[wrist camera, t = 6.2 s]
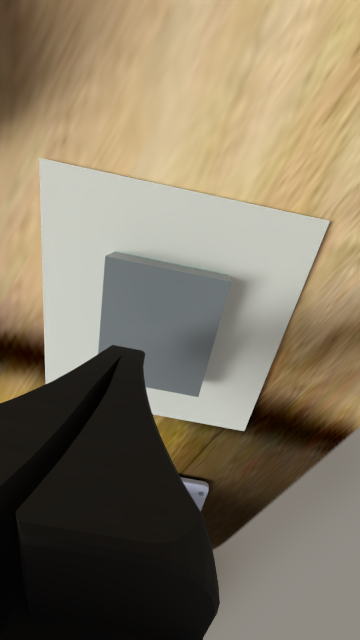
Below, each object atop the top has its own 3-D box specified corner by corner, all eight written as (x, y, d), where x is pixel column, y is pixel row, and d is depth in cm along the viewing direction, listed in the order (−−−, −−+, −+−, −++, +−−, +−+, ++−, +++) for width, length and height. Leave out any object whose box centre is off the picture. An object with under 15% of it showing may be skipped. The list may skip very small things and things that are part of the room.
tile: (96, 377, 14) (198, 397, 14) (105, 255, 11) (231, 282, 12) (105, 362, 16) (197, 380, 16) (115, 251, 13) (227, 274, 13)
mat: (243, 427, 18) (244, 431, 17) (48, 391, 17) (45, 394, 17) (327, 220, 12) (329, 220, 12) (42, 159, 12) (39, 157, 11)
